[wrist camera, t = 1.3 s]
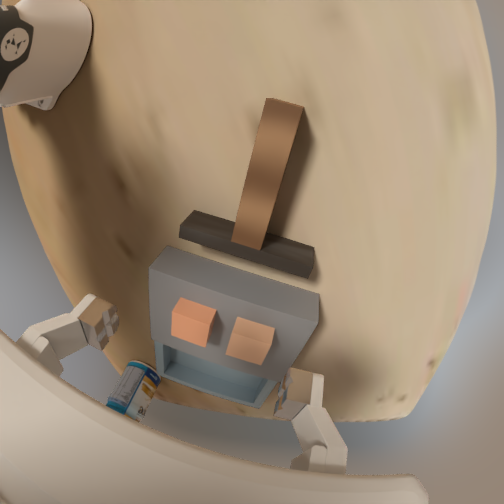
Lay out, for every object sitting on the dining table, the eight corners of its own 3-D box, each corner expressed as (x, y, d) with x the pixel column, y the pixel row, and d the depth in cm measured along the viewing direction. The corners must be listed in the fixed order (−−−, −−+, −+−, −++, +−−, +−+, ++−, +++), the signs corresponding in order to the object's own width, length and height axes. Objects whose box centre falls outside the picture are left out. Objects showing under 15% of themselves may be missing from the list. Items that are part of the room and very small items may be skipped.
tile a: (178, 321, 34) (171, 335, 32) (180, 297, 32) (172, 311, 29) (211, 332, 34) (205, 347, 32) (216, 309, 31) (209, 325, 29)
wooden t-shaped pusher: (218, 86, 23) (203, 85, 20) (359, 126, 23) (367, 131, 19) (193, 220, 32) (178, 237, 28) (309, 257, 31) (307, 278, 28)
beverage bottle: (133, 353, 52) (91, 429, 35) (167, 375, 53) (131, 453, 36) (125, 365, 56) (88, 432, 39) (155, 384, 57) (123, 453, 41)
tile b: (230, 339, 34) (225, 354, 32) (237, 316, 31) (231, 332, 29) (264, 349, 34) (261, 365, 31) (274, 328, 31) (271, 344, 29)
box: (164, 358, 49) (156, 374, 46) (164, 316, 42) (153, 334, 39) (262, 391, 49) (259, 408, 45) (284, 356, 41) (280, 377, 38)
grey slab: (164, 316, 42) (151, 339, 38) (167, 245, 34) (148, 267, 30) (284, 356, 41) (280, 382, 37) (319, 294, 34) (318, 322, 29)
